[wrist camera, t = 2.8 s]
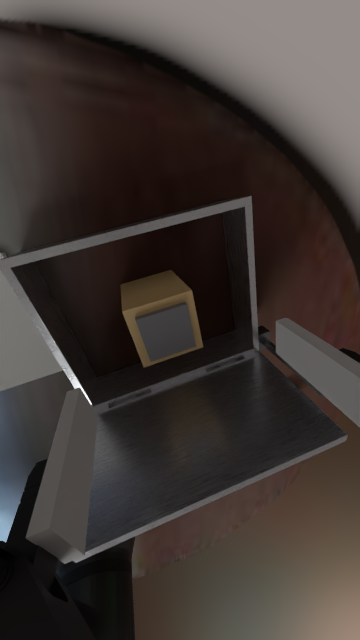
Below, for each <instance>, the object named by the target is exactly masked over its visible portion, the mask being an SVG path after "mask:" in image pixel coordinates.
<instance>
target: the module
mask: <svg viewBox="0 0 360 640" xmlns="http://www.w3.org/2000/svg"><path fill="white" fill-rule="evenodd" d="M120 287H121V302H122V313H123V315H124V318H125V320H126V323H127V325H128V328H129V331H130V333H131V336H132V338H133V341H134V344H135V346H136V349H137V351H138V354H139V357H140V359H141V362H142V364H143V367H147V366H150V365H153V364H156V363H159V362H162V361H165V360H167V359H170V358H173V357H176V356H179V355H182V354H185V353H188V352H190V351H193V350H196V349H199V348H202V347H203V343H202V338H201V333H200V328H199V323H198V318H197V313H196V308H195V303H194V298H193V293H192V290H191V289H190V288H189V287H188V286H187V285H186V284H185V283H184V282H183V281H182V280H181V279H180V278H179V277H178V276H177V275H176V274H175V273H174V272H173V271H172V270H168V271H165V272H161V273H158V274H155V275H151V276H148V277H144V278H141V279H137V280H134V281H130V282H127V283H124V284H120Z"/></svg>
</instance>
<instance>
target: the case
mask: <svg viewBox="0 0 360 640" xmlns="http://www.w3.org/2000/svg"><path fill="white" fill-rule="evenodd" d="M218 213H222V220H223V230H224V239H225V248H226V257H227V266H228V275H229V284H230V293H231V303H232V312H233V321H234V330H233V331H230V332H227V333H224V334H221V335H218V336H216V337H213V338H210V339H207V340H204V341H202V343H203V347H202V348H199V349H196V350H193V351H190V352H188V353H185V354H182V355H179V356H176V357H173V358H170V359H167V360H165V361H162V362H159V363H156V364H153V365H150V366H147V367H143V364H142V362H140V363H137V364H134V365H131V366H128V367H125V368H122V369H119V370H117V371H114V372H111V373H108V374H105V375H102V376H99V377H96V375H95V373H94V371H93V369H92V367H91V365H90V364H89V362H88V360H87V358H86V356H85V354H84V352H83V351H82V349H81V347H80V345H79V343H78V341H77V339H76V338H75V336H74V334H73V332H72V330H71V328H70V326H69V325H68V323H67V321H66V319H65V317H64V315H63V313H62V312H61V310H60V308H59V306H58V304H57V302H56V300H55V299H54V297H53V295H52V293H51V291H50V289H49V287H48V286H47V284H46V282H45V280H44V278H43V276H42V274H41V273H40V271H39V269H38V267H37V265H36V263H35V261H38V260H42V259H46V258H50V257H53V256H57V255H61V254H65V253H69V252H72V251H76V250H80V249H84V248H88V247H92V246H95V245H99V244H103V243H107V242H111V241H115V240H118V239H122V238H126V237H130V236H134V235H137V234H141V233H145V232H149V231H153V230H157V229H160V228H164V227H168V226H172V225H176V224H179V223H183V222H187V221H191V220H195V219H199V218H202V217H206V216H210V215H214V214H218ZM0 270H1V271H2V273H3V275H4V276H5V278H6V279H7V281H8V283H9V284H10V286H11V287H12V289H13V291H14V292H15V294H16V295H17V297H18V299H19V300H20V302H21V303H22V305H23V307H24V308H25V310H26V311H27V313H28V315H29V316H30V318H31V319H32V321H33V323H34V324H35V326H36V327H37V329H38V331H39V332H40V334H41V335H42V337H43V339H44V340H45V342H46V343H47V345H48V347H49V348H50V350H51V351H52V353H53V355H54V356H55V358H56V359H57V361H58V363H59V364H60V366H61V367H62V369H63V371H64V372H65V374H66V375H67V377H68V379H69V380H70V382H71V383H72V385H73V387H74V388H75V389H76V388H79V387H80V388H81V390H82V392H83V393H84V395H85V397H86V398H87V400H88V401H89V403H90V405H91V406H92V408H93V410H94V411H95V413H96V414H97V416H98V421H97V431H96V442H95V452H94V463H93V473H92V484H91V494H90V504H89V515H88V525H87V536H86V546H85V555H84V556H82V557H80V558H77V559H75V560H73V561H74V562H75V563H77V562H79V561H81V560H84V559H86V558H88V557H90V556H92V555H95V554H97V553H99V552H101V551H103V550H106V549H108V548H110V547H112V546H115V545H117V544H119V543H121V542H123V541H126V540H128V539H130V538H132V537H134V536H137V535H139V534H141V533H143V532H145V531H148V530H150V529H152V528H154V527H157V526H159V525H161V524H163V523H165V522H168V521H170V520H172V519H174V518H176V517H179V516H181V515H183V514H185V513H187V512H190V511H192V510H194V509H196V508H199V507H201V506H203V505H205V504H207V503H210V502H212V501H214V500H216V499H218V498H221V497H223V496H225V495H227V494H230V493H232V492H234V491H236V490H238V489H241V488H243V487H245V486H247V485H249V484H252V483H254V482H256V481H258V480H260V479H263V478H265V477H267V476H269V475H272V474H274V473H276V472H278V471H280V470H283V469H285V468H287V467H289V466H291V465H294V464H296V463H298V462H300V461H302V460H305V459H307V458H309V457H311V456H314V455H316V454H318V453H320V452H322V451H324V450H327V449H329V448H331V447H333V446H336V445H338V444H340V443H342V442H344V441H346V439H347V434H346V433H345V432H344V431H343V430H342V429H341V428H340V427H339V426H338V425H337V424H336V423H335V422H334V421H333V420H332V419H330V418H329V417H328V416H327V415H326V414H325V413H324V412H323V411H322V410H321V409H320V408H319V407H318V406H317V405H316V404H315V403H314V402H312V401H311V400H310V399H309V398H308V397H307V396H306V395H305V394H304V393H303V392H302V391H301V390H300V389H299V388H298V387H297V386H295V385H294V384H293V383H292V382H291V381H290V380H289V379H288V378H287V377H286V376H285V375H284V374H283V373H282V372H281V371H280V370H279V369H277V368H276V367H275V366H274V365H273V364H272V363H271V362H270V361H269V360H268V359H267V358H266V357H265V356H264V355H263V354H262V353H260V352H259V351H261V350H263V349H266V348H267V349H268V350H269V351H270V352H272V353H273V354H274V355H275V356H276V357H277V358H278V359H279V360H281V361H282V362H283V363H284V364H285V365H286V366H287V367H289V368H290V369H291V370H292V371H293V372H294V373H295V374H297V375H298V376H299V377H300V378H301V379H302V380H303V381H305V382H306V383H307V384H308V385H309V386H310V387H311V388H313V389H314V390H315V391H316V392H317V393H318V394H319V395H321V396H322V397H325V396H324V395H323V394H322V393H320V392H319V391H318V390H317V389H316V388H315V387H314V386H313V385H311V384H310V383H309V382H308V381H307V380H306V379H305V378H304V377H302V376H301V375H300V374H299V373H298V372H297V371H296V370H295V369H293V368H292V367H291V366H290V365H289V364H288V363H287V362H286V361H284V360H283V359H282V358H281V357H280V356H279V355H278V354H277V353H276V346H275V345H274V344H273V343H272V342H270V331H269V330H268V329H266V328H265V327H264V326H259V327H258V320H257V299H256V278H255V258H254V237H253V216H252V196H246V197H240V198H233V199H226V200H222V201H218V202H214V203H210V204H207V205H203V206H199V207H195V208H191V209H187V210H183V211H179V212H175V213H171V214H167V215H163V216H159V217H155V218H151V219H147V220H143V221H139V222H136V223H132V224H128V225H124V226H120V227H116V228H112V229H108V230H104V231H100V232H96V233H92V234H88V235H84V236H80V237H76V238H72V239H69V240H65V241H61V242H57V243H53V244H49V245H45V246H41V247H37V248H33V249H29V250H25V251H21V252H18V253H16V254H13V255H10V256H8V257H5V258H2V259H0Z"/></svg>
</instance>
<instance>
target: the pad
mask: <svg viewBox="0 0 360 640" xmlns="http://www.w3.org/2000/svg"><path fill="white" fill-rule="evenodd" d="M5 257H7V256H6V254H5V252H3V253H0V259H2V258H5ZM60 371H63V369H62V367H61V366H60V364H59V363H58V361H57V359H56V358H55V356H54V355H53V353H52V351H51V350H50V348H49V347H48V345H47V343H46V342H45V340H44V339H43V337H42V335H41V334H40V332H39V331H38V329H37V327H36V326H35V324H34V323H33V321H32V319H31V318H30V316H29V315H28V313H27V311H26V310H25V308H24V307H23V305H22V303H21V302H20V300H19V299H18V297H17V295H16V294H15V292H14V291H13V289H12V287H11V286H10V284H9V283H8V281H7V279H6V278H5V276H4V275H3V273H2V271H1V270H0V391H3V390H6V389H9V388H12V387H15V386H18V385H21V384H24V383H27V382H30V381H33V380H36V379H39V378H42V377H45V376H48V375H51V374H54V373H57V372H60Z"/></svg>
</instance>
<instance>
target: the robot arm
mask: <svg viewBox="0 0 360 640" xmlns="http://www.w3.org/2000/svg"><path fill="white" fill-rule="evenodd" d="M276 353H277V354H278V355H279V356H280V357H281V358H282V359H283V360H284V361H286V362H287V363H288V364H289V365H290V366H291V367H292V368H293V369H295V370H296V371H297V372H298V373H299V374H300V375H301V376H302V377H304V378H305V379H306V380H307V381H308V382H309V383H310V384H311V385H313V386H314V387H315V388H316V389H317V390H318V391H319V392H320V393H322V394H323V395H324V396H325V397H326V398H327V399H328V400H329V401H331V402H332V403H333V404H334V405H335V406H336V407H337V408H339V409H340V410H341V411H342V412H343V413H344V414H345V415H346V416H348V417H349V418H350V419H351V420H352V421H353V422H354V423H355V424H357V425H358V426H359V427H360V355H359V354H357V353H356V352H353V351H350V350H347V349H344V348H342V349H340V350H338V349H336V348H334V347H333V346H331V345H330V344H328V343H326V342H325V341H323V340H322V339H320V338H318V337H317V336H315V335H314V334H312V333H310V332H309V331H307V330H305V329H304V328H302V327H301V326H299V325H297V324H296V323H294V322H293V321H291V320H289V319H288V318H283V319H280V320H277V321H276ZM97 421H98V416H97V414H96V413H95V411H94V410H93V408H92V406H91V405H90V403H89V401H88V400H87V398H86V397H85V395H84V393H83V392H82V390H81V388H80V387H79V388H76V389H73V390H70V391H67V393H66V396H65V400H64V404H63V407H62V411H61V414H60V418H59V421H58V425H57V428H56V432H55V435H54V439H53V442H52V446H51V450H50V453H49V457H48V459H45V460H43V461H40V462H37V464H36V465H35V467H34V468H33V470H32V472H31V473H30V475H29V477H28V480H27V483H26V486H25V489H24V490H25V491H24V492H23V495H22V498H21V503H20V504H19V506H18V509H17V512H16V515H15V518H14V521H13V524H12V527H11V530H10V533H9V536H8V539H7V542H6V543H5V542H4V541H0V640H135V623H134V603H133V583H132V561H131V559H132V552H133V546H134V541H135V536H134V537H132V538H130V539H128V540H126V541H123V542H121V543H119V544H117V545H115V546H112V547H110V548H108V549H106V550H103V551H101V552H99V553H97V554H95V555H92V556H90V557H88V558H86V559H84V560H81V561H79V562H77V563H75V562H74V561H73V560H75V559H77V558H80V557H82V556H84V555H85V546H86V536H87V525H88V515H89V504H90V494H91V484H92V473H93V463H94V452H95V442H96V431H97Z"/></svg>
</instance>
